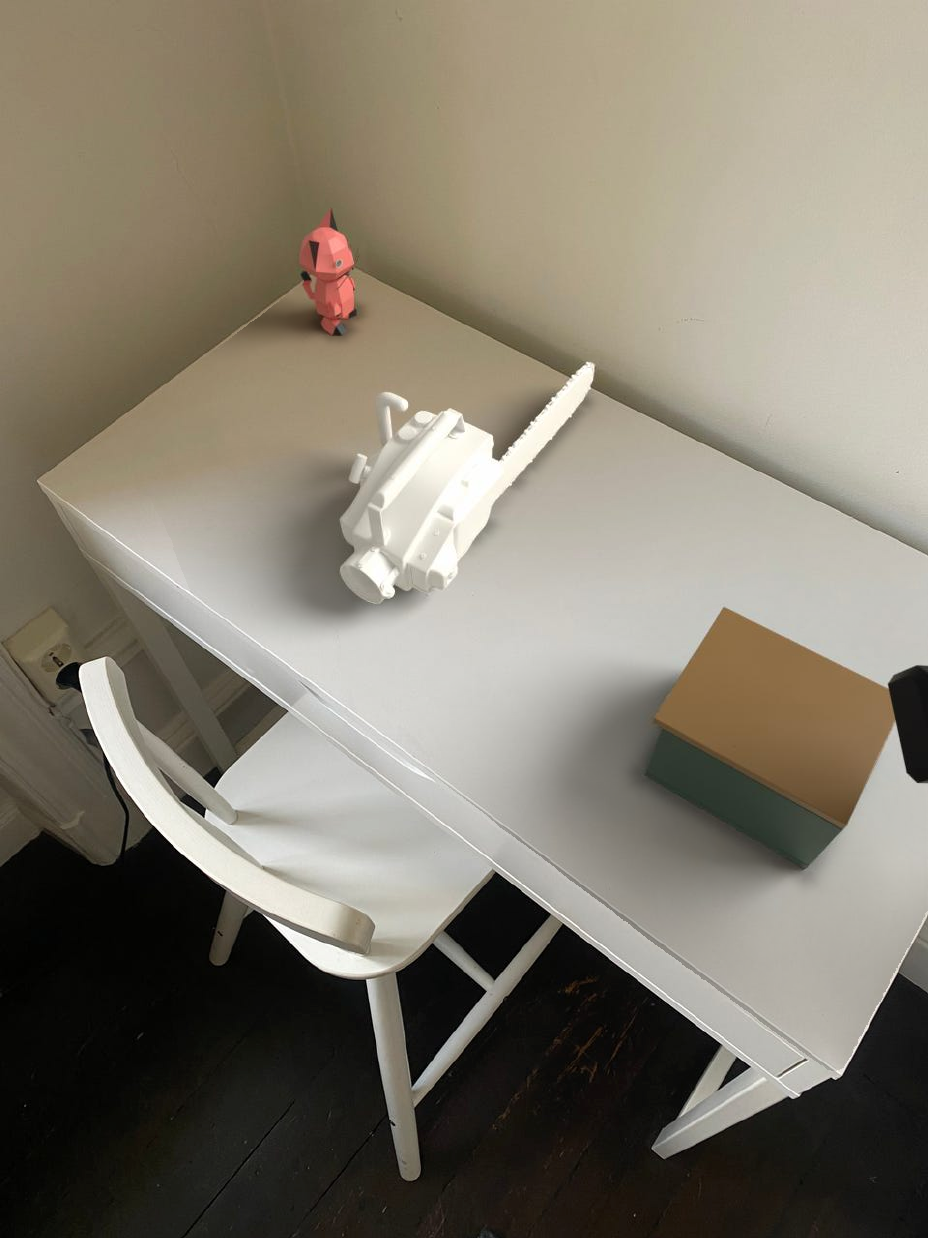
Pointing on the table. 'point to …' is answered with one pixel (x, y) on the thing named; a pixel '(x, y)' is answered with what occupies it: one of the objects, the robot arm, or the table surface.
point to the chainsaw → (434, 492)
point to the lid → (781, 715)
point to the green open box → (739, 800)
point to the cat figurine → (329, 274)
